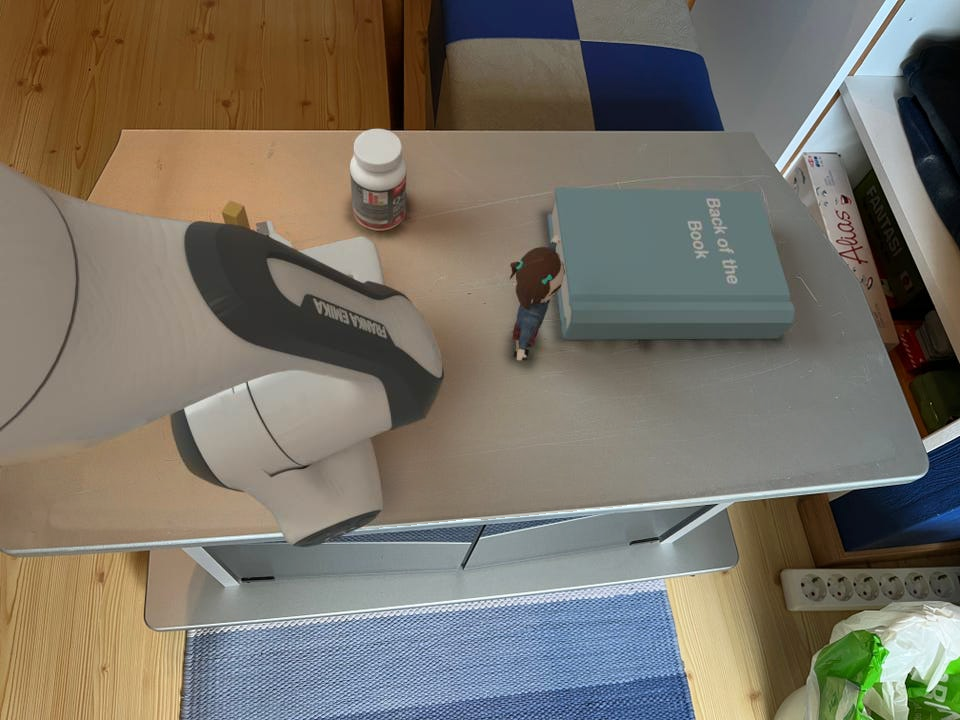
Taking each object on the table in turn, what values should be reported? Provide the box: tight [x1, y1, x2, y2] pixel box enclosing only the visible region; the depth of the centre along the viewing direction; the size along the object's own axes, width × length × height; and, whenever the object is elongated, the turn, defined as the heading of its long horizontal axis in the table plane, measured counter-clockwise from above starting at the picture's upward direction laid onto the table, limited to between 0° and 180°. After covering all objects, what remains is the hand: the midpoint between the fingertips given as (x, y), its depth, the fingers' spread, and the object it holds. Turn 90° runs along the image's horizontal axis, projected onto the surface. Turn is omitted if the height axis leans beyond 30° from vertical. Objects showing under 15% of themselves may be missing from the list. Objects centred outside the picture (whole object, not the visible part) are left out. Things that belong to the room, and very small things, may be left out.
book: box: [546, 187, 795, 340], centre depth 78 cm, size 23×16×5 cm
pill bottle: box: [349, 128, 407, 232], centre depth 77 cm, size 6×6×10 cm
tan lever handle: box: [221, 200, 251, 229], centre depth 68 cm, size 9×3×7 cm, turn 159°
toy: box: [509, 235, 565, 362], centre depth 68 cm, size 14×5×15 cm, turn 164°
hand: (251, 228), depth 68 cm, fingers closed
